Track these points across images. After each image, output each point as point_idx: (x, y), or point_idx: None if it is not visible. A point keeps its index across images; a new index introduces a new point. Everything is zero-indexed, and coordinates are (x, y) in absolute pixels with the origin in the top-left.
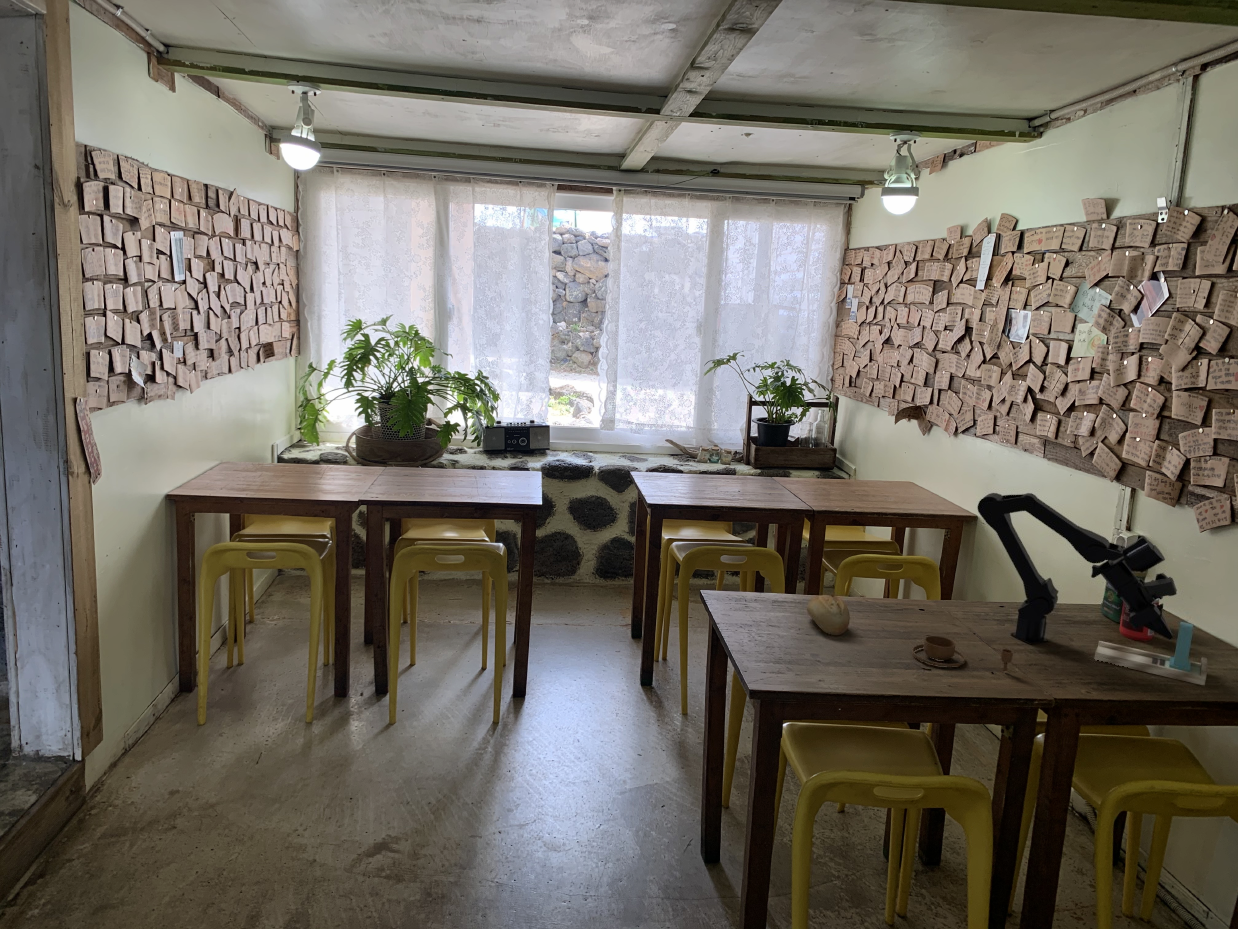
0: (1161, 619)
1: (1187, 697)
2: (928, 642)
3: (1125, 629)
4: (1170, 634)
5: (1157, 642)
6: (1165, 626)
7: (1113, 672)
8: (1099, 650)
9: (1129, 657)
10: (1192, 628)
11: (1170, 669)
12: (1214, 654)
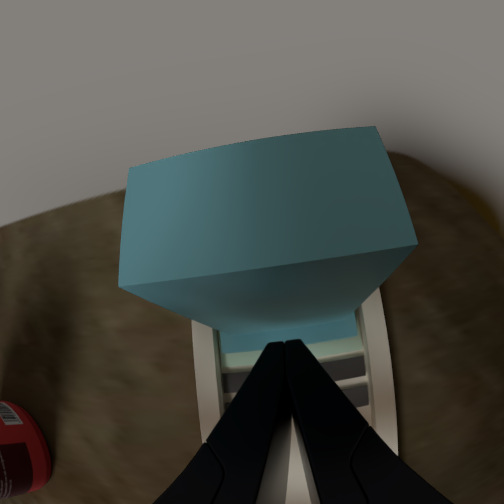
0: (445, 501)
1: (495, 238)
2: None
3: (33, 486)
4: (317, 362)
5: (26, 391)
6: (369, 426)
7: (467, 477)
8: None
9: (304, 495)
10: (293, 137)
11: (384, 324)
12: (33, 243)
